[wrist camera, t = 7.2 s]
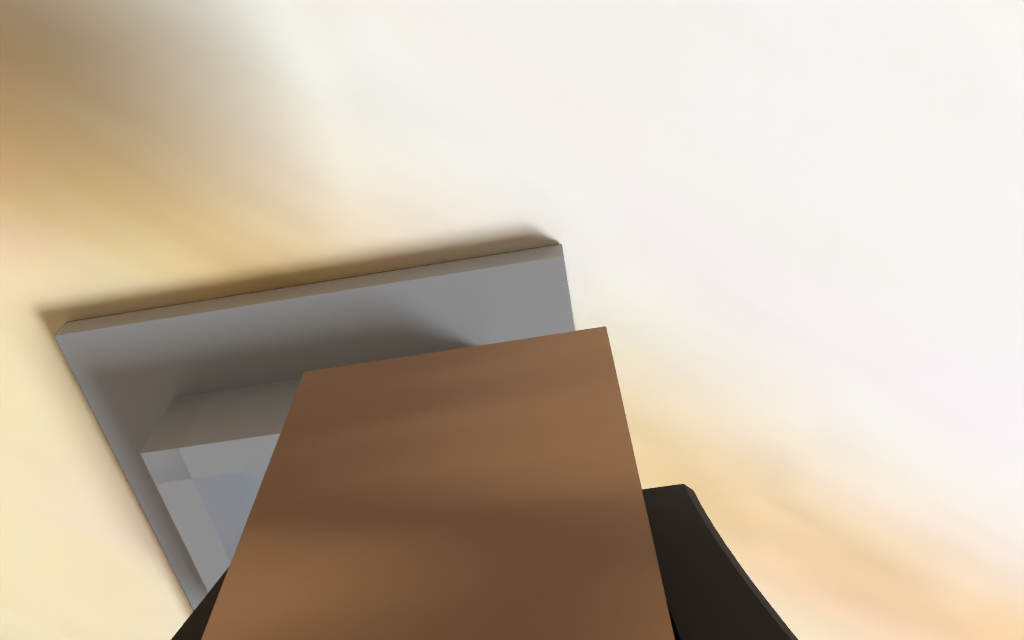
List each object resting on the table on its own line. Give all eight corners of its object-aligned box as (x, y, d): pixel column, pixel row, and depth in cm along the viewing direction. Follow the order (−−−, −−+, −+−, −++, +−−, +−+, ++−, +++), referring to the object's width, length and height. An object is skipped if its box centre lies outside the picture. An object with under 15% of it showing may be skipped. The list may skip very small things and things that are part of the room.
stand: (231, 654, 24) (202, 739, 22) (66, 322, 18) (5, 388, 16) (617, 606, 23) (629, 689, 21) (561, 244, 18) (569, 302, 15)
